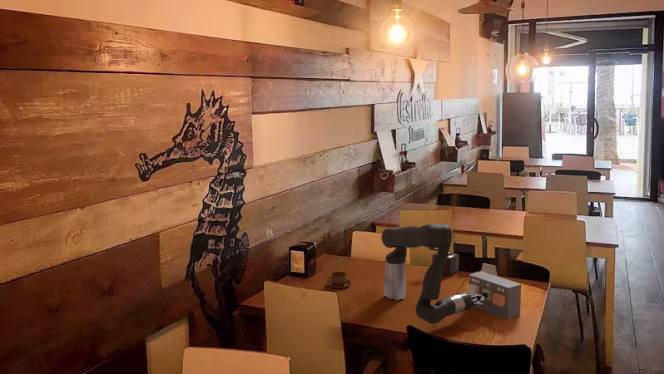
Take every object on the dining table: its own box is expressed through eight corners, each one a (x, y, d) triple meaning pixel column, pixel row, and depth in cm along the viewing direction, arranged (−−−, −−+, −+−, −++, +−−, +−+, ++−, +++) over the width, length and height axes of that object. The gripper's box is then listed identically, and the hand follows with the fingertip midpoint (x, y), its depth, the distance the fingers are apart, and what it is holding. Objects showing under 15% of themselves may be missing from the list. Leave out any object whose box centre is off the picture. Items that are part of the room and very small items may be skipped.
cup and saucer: (337, 291, 287) (337, 279, 286) (321, 285, 296) (321, 273, 295) (356, 286, 295) (355, 274, 294) (339, 280, 304) (339, 268, 303)
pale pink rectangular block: (492, 286, 291) (493, 266, 289) (480, 283, 296) (481, 264, 294) (496, 284, 294) (497, 265, 292) (484, 281, 298) (484, 262, 296)
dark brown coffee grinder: (441, 267, 322) (441, 234, 319) (459, 271, 315) (460, 238, 312) (424, 274, 311) (425, 240, 308) (443, 278, 304) (443, 244, 301)
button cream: (467, 294, 264) (467, 284, 263) (474, 292, 267) (474, 282, 266) (475, 297, 261) (475, 287, 260) (482, 295, 263) (482, 285, 262)
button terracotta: (492, 303, 253) (492, 293, 252) (499, 301, 255) (499, 291, 255) (500, 306, 249) (501, 296, 248) (507, 304, 252) (508, 294, 251)
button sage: (482, 298, 259) (482, 288, 259) (489, 296, 262) (489, 286, 261) (489, 301, 256) (490, 291, 255) (496, 298, 258) (497, 289, 257)
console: (467, 304, 268) (468, 274, 265) (480, 300, 273) (481, 271, 270) (507, 320, 250) (508, 288, 248) (520, 315, 255) (521, 284, 252)
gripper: (469, 299, 241) (498, 290, 251) (446, 290, 252) (474, 282, 262) (469, 317, 243) (498, 307, 252) (446, 307, 254) (474, 298, 263)
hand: (486, 294), depth 257 cm, fingers closed
